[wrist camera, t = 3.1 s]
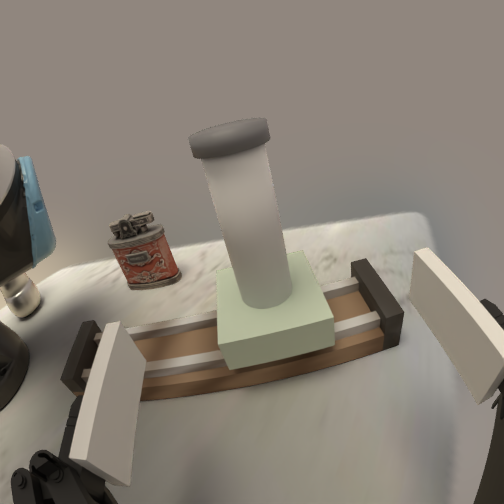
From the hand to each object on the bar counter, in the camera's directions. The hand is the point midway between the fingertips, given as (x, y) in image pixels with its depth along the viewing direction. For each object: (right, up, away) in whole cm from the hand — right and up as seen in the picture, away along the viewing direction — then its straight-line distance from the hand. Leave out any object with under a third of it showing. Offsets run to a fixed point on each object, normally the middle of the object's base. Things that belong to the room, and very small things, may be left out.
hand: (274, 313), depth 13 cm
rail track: (-3, -7, +14) cm, 16 cm away
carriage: (+1, -3, +13) cm, 13 cm away
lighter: (-14, -2, +28) cm, 31 cm away
